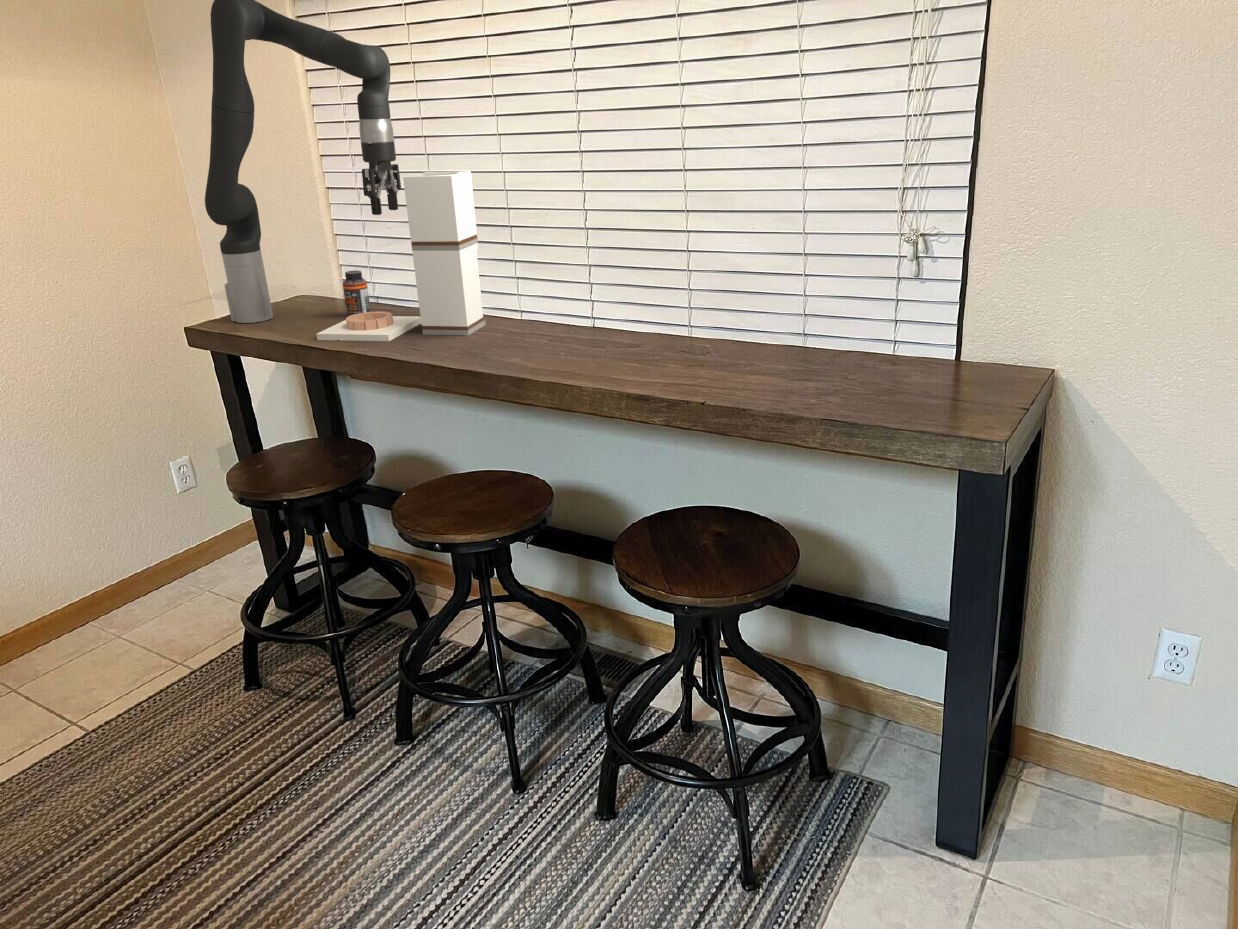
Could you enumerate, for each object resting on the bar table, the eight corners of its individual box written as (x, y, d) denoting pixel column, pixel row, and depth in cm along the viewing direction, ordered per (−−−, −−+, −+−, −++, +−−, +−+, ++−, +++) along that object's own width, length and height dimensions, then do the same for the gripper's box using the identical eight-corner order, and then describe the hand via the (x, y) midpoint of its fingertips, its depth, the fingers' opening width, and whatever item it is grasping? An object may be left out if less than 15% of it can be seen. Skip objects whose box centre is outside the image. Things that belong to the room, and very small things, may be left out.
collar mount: (317, 340, 211) (314, 325, 210) (355, 321, 227) (353, 307, 226) (388, 341, 207) (386, 326, 206) (422, 322, 223) (420, 308, 222)
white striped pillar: (485, 324, 219) (470, 171, 206) (468, 335, 209) (451, 175, 196) (441, 323, 222) (424, 172, 208) (422, 334, 212) (403, 176, 199)
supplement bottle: (342, 318, 231) (335, 273, 227) (355, 313, 237) (348, 269, 232) (363, 319, 230) (356, 273, 225) (376, 313, 235) (369, 269, 231)
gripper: (376, 138, 218) (384, 208, 224) (347, 141, 205) (356, 216, 212) (405, 138, 216) (413, 208, 223) (377, 141, 204) (386, 216, 210)
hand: (385, 212), depth 217 cm, fingers open, 8 cm apart
